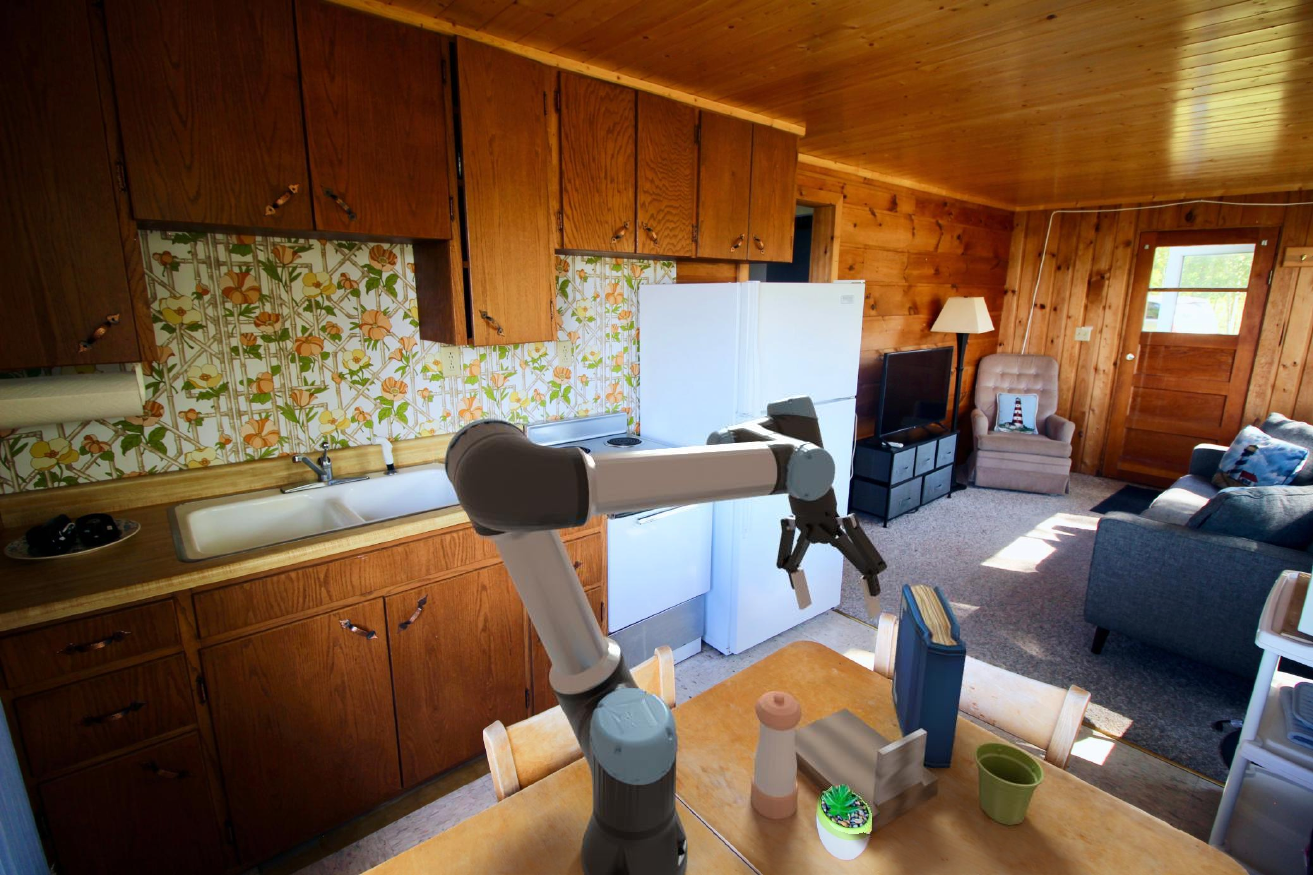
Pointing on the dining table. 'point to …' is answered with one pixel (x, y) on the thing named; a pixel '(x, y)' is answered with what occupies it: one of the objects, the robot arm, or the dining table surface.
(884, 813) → the grey brown wooden stand
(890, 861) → the dining table surface
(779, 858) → the dining table surface
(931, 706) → the book
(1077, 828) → the dining table surface
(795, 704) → the pepper shaker
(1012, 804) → the plant pot
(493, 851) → the dining table surface
